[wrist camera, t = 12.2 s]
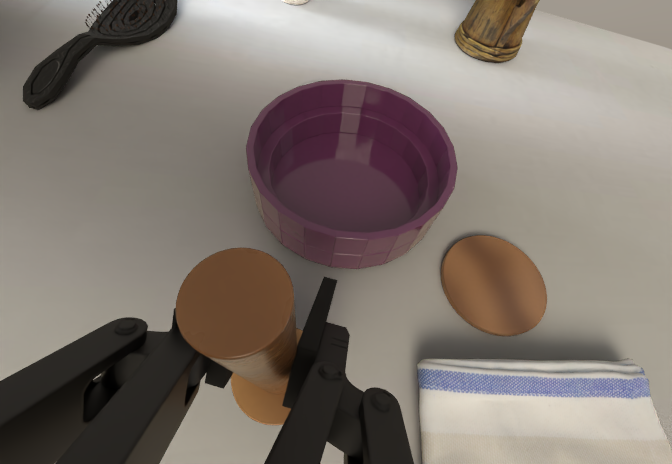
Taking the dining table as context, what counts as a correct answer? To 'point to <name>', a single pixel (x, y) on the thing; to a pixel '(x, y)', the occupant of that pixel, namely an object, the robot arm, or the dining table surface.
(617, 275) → the dining table surface
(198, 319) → the dish brush
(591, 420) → the dish towel
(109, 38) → the hairbrush
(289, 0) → the white tumbler
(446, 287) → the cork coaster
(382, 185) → the bowl
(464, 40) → the wooden mug
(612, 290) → the dining table surface
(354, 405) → the robot arm
